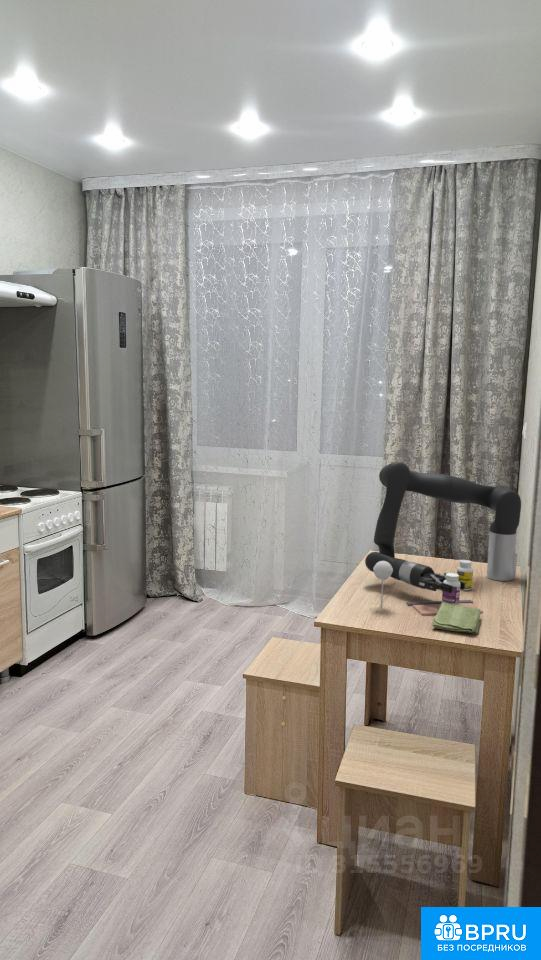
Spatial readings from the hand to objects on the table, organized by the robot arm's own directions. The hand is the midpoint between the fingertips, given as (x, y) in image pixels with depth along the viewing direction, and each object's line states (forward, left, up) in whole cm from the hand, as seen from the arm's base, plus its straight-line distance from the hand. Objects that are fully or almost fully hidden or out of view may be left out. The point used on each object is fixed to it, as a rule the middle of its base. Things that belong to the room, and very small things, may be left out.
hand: (458, 587), depth 213 cm
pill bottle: (+1, -2, -6) cm, 7 cm away
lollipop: (+22, -7, -8) cm, 25 cm away
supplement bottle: (-13, -23, -8) cm, 28 cm away
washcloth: (+4, +10, -8) cm, 13 cm away
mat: (+2, -4, -8) cm, 9 cm away
